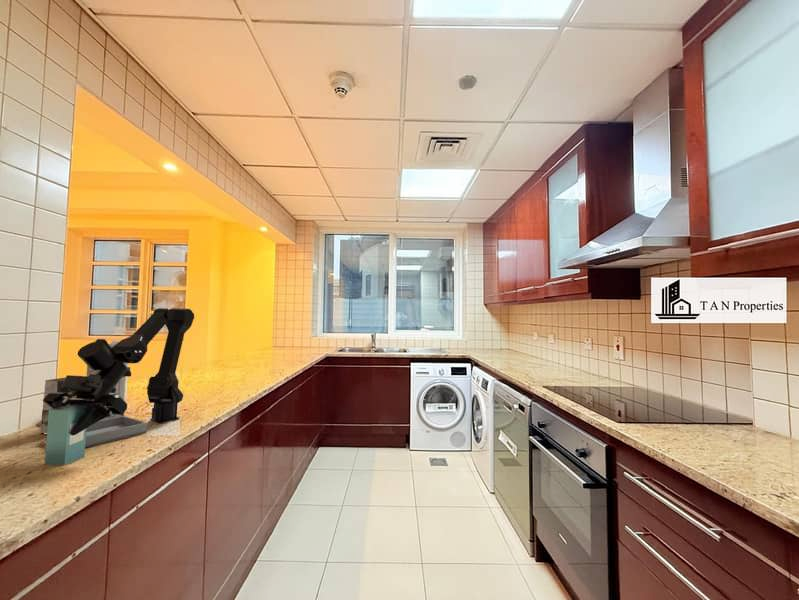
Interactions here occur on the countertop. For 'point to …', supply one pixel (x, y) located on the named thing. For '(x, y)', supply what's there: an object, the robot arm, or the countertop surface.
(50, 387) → the coffee box
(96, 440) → the tray
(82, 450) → the tea tin
